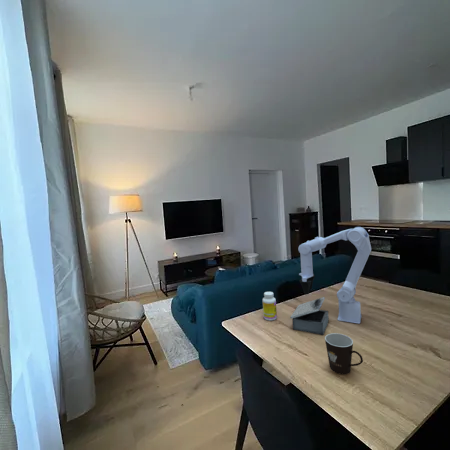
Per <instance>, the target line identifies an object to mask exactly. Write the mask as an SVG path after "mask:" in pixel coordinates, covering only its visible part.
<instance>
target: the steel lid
mask: <svg viewBox="0 0 450 450" xmlns="http://www.w3.org/2000/svg"><path fill="white" fill-rule="evenodd" d="M325 299H326V297H324V296H322V297H319V298H317V299H313V300H310V301H306V302H304V303H300V304H298V305H297V307H296V308H295V310H294V311H292V312H293V313H292V314H291V315H290V319H291V320H292V318H295V317H299V316H302V315H306V314H309V313H312V312H316V311H319V310H321V307H322V305H323V303H324V301H325Z"/></svg>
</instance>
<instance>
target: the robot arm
mask: <svg viewBox="0 0 450 450" xmlns="http://www.w3.org/2000/svg"><path fill="white" fill-rule="evenodd" d="M369 235H370V234H369V233H368V232H367V230H366V229H365V228H364V227H361V226H355V227H354V228H348V229H345V230H341V231H339V232H336V233H334V234H331V235H329V236H326V237H322V236H316V237H314V239H311V240H307V241H306V242H304V243H301V244H299V246H298V253H300V268H301V269H300V271H301V272H300V273H298V276H301V279H299V283H300V285H301V288H302V290H303V293H304V294H305V295H309V294H310V290H312V289H313V283H314V280H315V277H316V275H315V274H314V271H313V269H314V268H313V252H316V251H319V250H322V249H325V248H326V247H327V245H328V244H331V243H334V242H337V241H340V240H343V241H349V242H351V244H353V245H354V246H355V248H356V250H357V252H356V255H355V257H354V259H353V262H352V264H351V267H350V269H349V271H348V274H347V276H346V278H345V281H344V283H343V284H342V287H340V288H339V290H338V291H337V292H336V298H337V299H338V300H337V301H338V317H337V321H340V322H346V323H347V322H348V323H354V324H361V321H362V320H361V319H362V313H361V311H362V310H361V309H362V308H361V301H358V300H356V299H355V295H356V287H357V284H358V281H359V279H360V277H361V275H362V272H363V270H364V268H365V265H366V263H367V261H368V259H369V256H370V254H371V252H372V246H371V242H370V236H369Z"/></svg>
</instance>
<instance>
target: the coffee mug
mask: <svg viewBox="0 0 450 450" xmlns="http://www.w3.org/2000/svg"><path fill="white" fill-rule="evenodd" d="M324 341H325V346H326V351H327V358H328V365H329V369H330V370H331V371H332V372H334V373H335V374H338V375H348V374H350V373H351V369H352V367H358V366H360V365H362V364H363V362H364V359H363V356H362V355H361V354H360V352H359V351H357V350H353V349H354V348H353V347H354V340H353V339H352V338H351V337H350V336H349V335H346V334H343V333H339V332H338V333H337V332H334V333H328V334H326V335H325V336H324ZM353 354H356V355H358V357H359V358H360V361H359V362H358V363H352V359H353V358H352V357H353Z"/></svg>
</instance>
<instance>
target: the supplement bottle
mask: <svg viewBox="0 0 450 450" xmlns="http://www.w3.org/2000/svg"><path fill="white" fill-rule="evenodd" d="M263 296H264V297H262V310H263V311H262V314H263V315H262V316H263V318H264V320H265V321H275V320H276V319H277V318H278V314H277V313H278V311H277V301H276V297H274V292H273V291H265V292H264V293H263Z"/></svg>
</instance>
